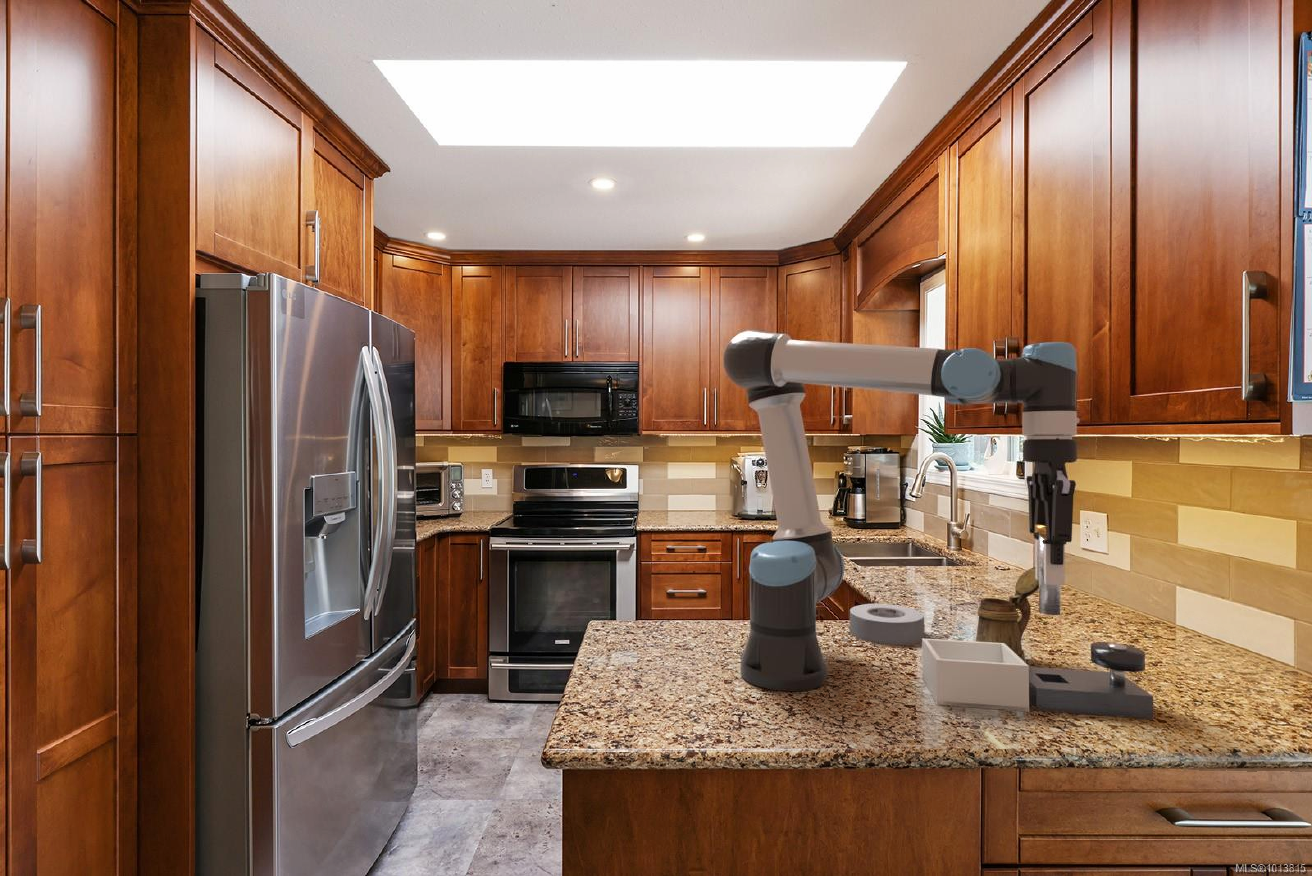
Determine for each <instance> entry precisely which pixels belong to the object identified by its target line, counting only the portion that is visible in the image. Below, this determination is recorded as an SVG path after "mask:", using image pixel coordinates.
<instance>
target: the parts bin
mask: <svg viewBox="0 0 1312 876" xmlns="http://www.w3.org/2000/svg"><path fill="white" fill-rule="evenodd" d="M1029 667H1030V666H1029V665H1028V664H1027V662H1026V663H1025V662H1024V661H1023V660H1022V659H1021V658H1020V657H1019V656H1017V655H1016V654H1015V653H1014V652H1013V651H1012V650H1011V649H1010V648H1009V647H1008V646H1007V645H1006V644H1005V643H992V642H976V641H974V640H973V641H972V640H954V639H938V638H937V639H936V638H924V639H923V638H922V642H921V669H922V670H921V672H922V673H921V674H922V675H921V676H922V681H923V683H924V685H926V687H927V689H928V691H929V692H930V694H931V696H932V698H933V700H934V702H935V704H936V705H941V706H953V707H954V706H955V707H963V708H964V707H965V708H966V707H967V708H979V709H992V710H1004V711H1007V710H1008V711H1016V712H1030V703H1029Z"/></svg>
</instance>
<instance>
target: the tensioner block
mask: <svg viewBox="0 0 1312 876" xmlns="http://www.w3.org/2000/svg"><path fill="white" fill-rule="evenodd" d="M1090 661H1091V663H1093V664H1094V665H1097V666H1099V667H1102V668H1105V669H1109V671H1098V670H1081V669H1066V668H1051V667H1038V666H1034V667H1033V666H1029V705H1031V706H1032V707H1033V708H1034V710H1035V711H1036V712H1037V711H1040V712H1049V713H1050V712H1052V713H1064V714H1078V715H1090V716H1092V715H1093V716H1105V717H1115V718H1117V717H1118V718H1127V719H1140V720H1141V719H1142V720H1143V719H1144V720H1154V696H1153V695H1152V694H1150V693H1149V692H1147V691H1146V690H1145V689H1144V688H1142V687H1140V686H1139V685H1137V684H1136V683H1135V682H1133V681H1132V680H1130V679H1129V678H1127V677H1126V672H1128V673H1135V672H1136V673H1139V672H1143V671H1145V670H1146V653H1145V651H1144V650H1142V649H1141V648H1138V647H1135V646H1132V645H1130V644H1129V645H1128V644H1124V643H1118V642H1111V641H1110V642H1109V641H1096V642H1092V643H1091V644H1090Z"/></svg>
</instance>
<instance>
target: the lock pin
mask: <svg viewBox="0 0 1312 876" xmlns="http://www.w3.org/2000/svg"><path fill="white" fill-rule="evenodd" d="M1035 532H1036V533H1039V589H1038V612H1039V613H1040V614H1043V615H1049V616H1060V615H1061V614H1062V613H1061V612H1062V611H1061V609H1062V608H1061V604H1062V603H1061V602H1062V601H1061V597H1062V595H1061V591H1062V590H1061V588H1062V587H1061V586H1062V585H1048V584H1044V544H1043V543H1042V540H1047V535H1046V524H1036V525H1035Z"/></svg>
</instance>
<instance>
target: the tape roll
mask: <svg viewBox="0 0 1312 876" xmlns="http://www.w3.org/2000/svg"><path fill="white" fill-rule="evenodd" d="M849 632H850V634H851V635H852V637H855V638H856V639H859V640H863V641H865V642H869V643H874V644H880V645H887V646H888V645H889V646H909V645H910V646H911V645H916V644H920V643H922V638H923V639H925V616H924V614H923V613H922V611H919V610H917V609H915V608H911V607H908V606H903V605H897V604H889V603H864V604H860V605H855V606H853V607H851V608H850V609H849Z"/></svg>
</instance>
